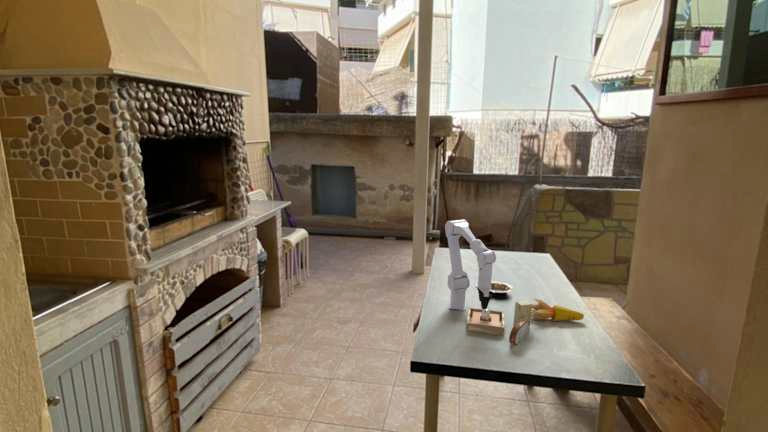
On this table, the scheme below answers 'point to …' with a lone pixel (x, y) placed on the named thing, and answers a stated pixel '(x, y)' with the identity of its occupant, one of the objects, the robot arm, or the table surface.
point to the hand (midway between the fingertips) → (483, 304)
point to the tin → (518, 331)
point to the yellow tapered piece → (554, 312)
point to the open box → (483, 327)
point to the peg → (485, 315)
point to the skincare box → (523, 311)
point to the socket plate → (492, 321)
